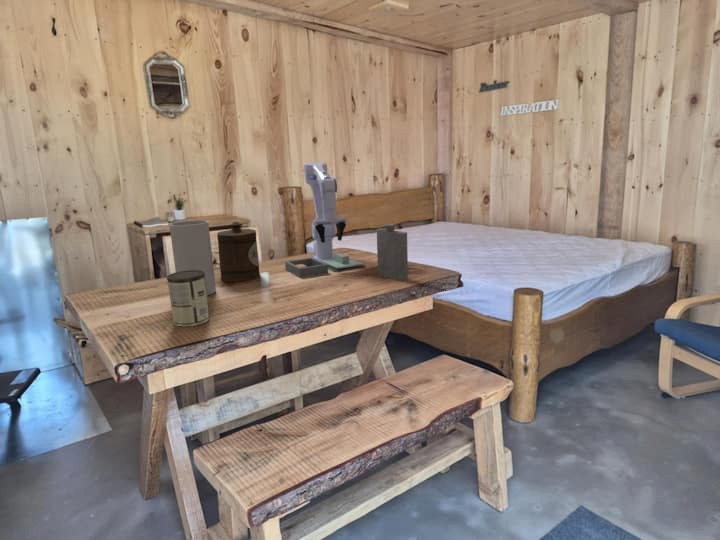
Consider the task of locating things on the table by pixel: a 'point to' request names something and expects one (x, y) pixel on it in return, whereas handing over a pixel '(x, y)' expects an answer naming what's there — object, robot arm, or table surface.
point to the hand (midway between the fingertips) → (331, 241)
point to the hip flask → (392, 253)
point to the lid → (341, 261)
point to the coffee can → (188, 298)
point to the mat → (344, 268)
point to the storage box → (306, 267)
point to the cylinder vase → (193, 249)
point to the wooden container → (238, 254)
